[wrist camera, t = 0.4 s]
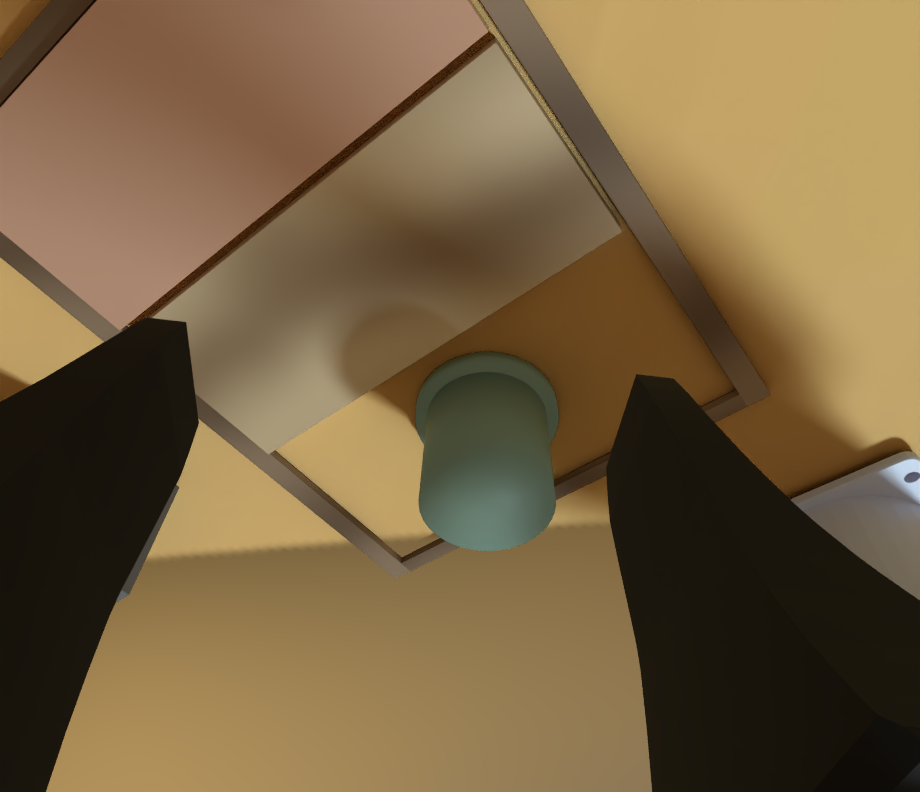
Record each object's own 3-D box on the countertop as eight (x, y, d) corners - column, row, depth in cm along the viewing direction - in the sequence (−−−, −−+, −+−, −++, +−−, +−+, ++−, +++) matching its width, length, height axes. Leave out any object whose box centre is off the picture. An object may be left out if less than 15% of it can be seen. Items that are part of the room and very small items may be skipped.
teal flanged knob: (584, 421, 25) (600, 518, 22) (472, 480, 27) (470, 578, 23) (503, 325, 23) (507, 416, 19) (387, 397, 25) (370, 492, 21)
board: (767, 389, 24) (773, 400, 24) (396, 572, 30) (394, 584, 30) (327, -313, 14) (322, -318, 14) (-94, 171, 20) (-108, 179, 20)
